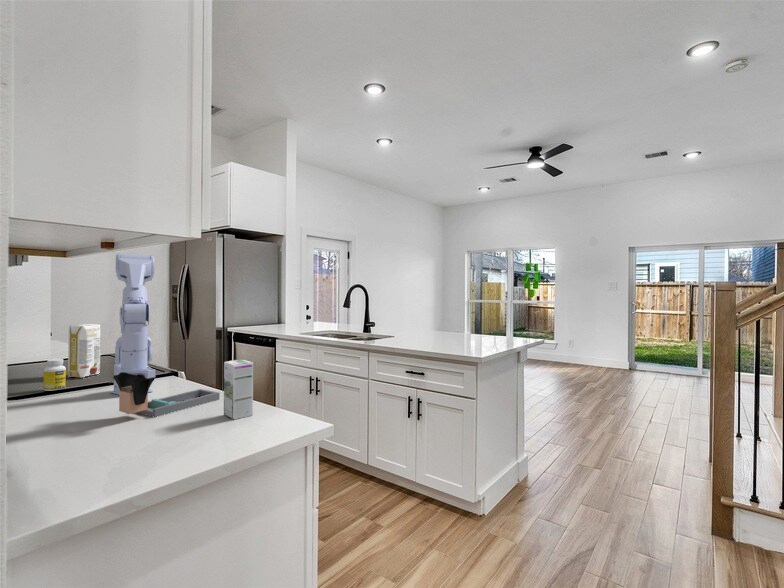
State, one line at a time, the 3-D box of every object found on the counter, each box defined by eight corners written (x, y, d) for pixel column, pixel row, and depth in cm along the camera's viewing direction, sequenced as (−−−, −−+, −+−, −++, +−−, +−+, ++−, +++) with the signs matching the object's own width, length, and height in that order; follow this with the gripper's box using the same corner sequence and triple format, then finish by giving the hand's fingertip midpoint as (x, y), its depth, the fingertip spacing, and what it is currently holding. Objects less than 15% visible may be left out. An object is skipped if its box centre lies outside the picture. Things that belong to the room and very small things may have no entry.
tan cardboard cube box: (119, 411, 103) (119, 387, 103) (137, 406, 107) (137, 384, 107) (129, 413, 101) (130, 390, 101) (147, 409, 105) (147, 386, 105)
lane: (135, 411, 109) (135, 404, 109) (200, 395, 127) (200, 388, 126) (155, 417, 105) (155, 409, 105) (219, 399, 123) (219, 392, 123)
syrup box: (253, 415, 108) (254, 361, 108) (232, 420, 104) (233, 364, 104) (243, 410, 112) (244, 358, 112) (222, 415, 108) (223, 361, 108)
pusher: (151, 408, 111) (151, 399, 111) (168, 403, 116) (168, 395, 116) (164, 411, 109) (164, 402, 109) (181, 407, 113) (182, 398, 113)
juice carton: (103, 374, 151) (104, 324, 151) (81, 379, 143) (82, 326, 143) (86, 373, 153) (87, 323, 152) (64, 378, 144) (64, 325, 144)
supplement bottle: (55, 392, 125) (56, 361, 125) (38, 392, 125) (39, 361, 125) (70, 388, 131) (70, 358, 131) (53, 388, 131) (53, 358, 131)
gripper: (101, 349, 104) (101, 402, 104) (135, 354, 97) (134, 411, 97) (130, 346, 110) (129, 395, 110) (163, 351, 103) (162, 403, 103)
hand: (133, 402), depth 104 cm, fingers closed on tan cardboard cube box, 4 cm apart
